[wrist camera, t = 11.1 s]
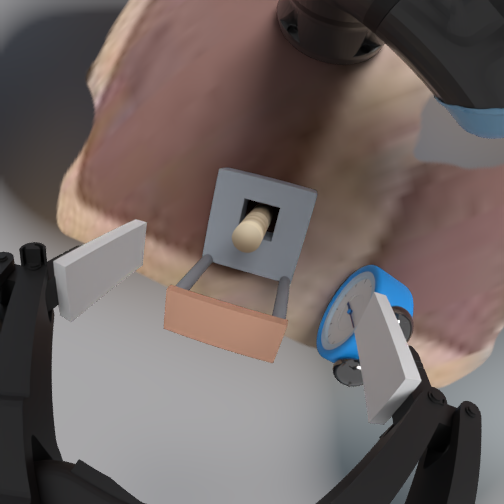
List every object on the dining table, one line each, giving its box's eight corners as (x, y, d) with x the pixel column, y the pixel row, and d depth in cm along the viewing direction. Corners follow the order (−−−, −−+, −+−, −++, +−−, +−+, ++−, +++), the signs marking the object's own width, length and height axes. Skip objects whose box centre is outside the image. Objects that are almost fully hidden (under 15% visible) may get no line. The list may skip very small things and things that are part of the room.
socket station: (227, 167, 36) (182, 175, 22) (315, 190, 35) (325, 211, 21) (206, 273, 42) (163, 328, 28) (283, 296, 41) (272, 363, 27)
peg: (255, 200, 37) (235, 220, 26) (275, 206, 37) (264, 229, 26) (250, 220, 38) (229, 247, 27) (270, 226, 38) (256, 256, 27)
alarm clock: (366, 249, 37) (397, 301, 23) (397, 271, 37) (436, 328, 23) (313, 317, 42) (314, 388, 28) (344, 335, 42) (355, 405, 28)
